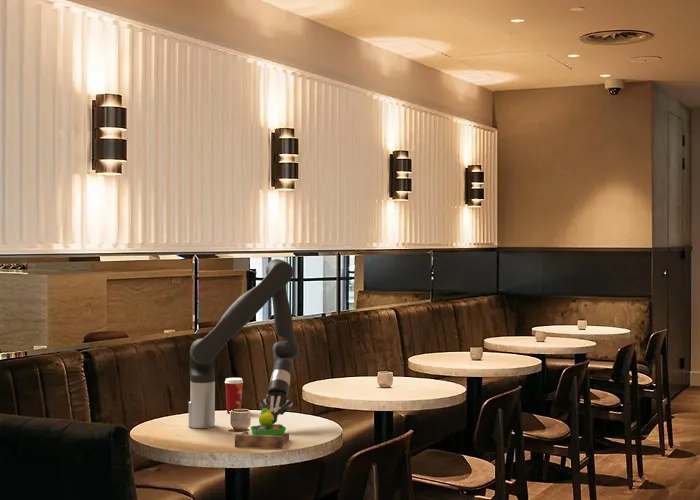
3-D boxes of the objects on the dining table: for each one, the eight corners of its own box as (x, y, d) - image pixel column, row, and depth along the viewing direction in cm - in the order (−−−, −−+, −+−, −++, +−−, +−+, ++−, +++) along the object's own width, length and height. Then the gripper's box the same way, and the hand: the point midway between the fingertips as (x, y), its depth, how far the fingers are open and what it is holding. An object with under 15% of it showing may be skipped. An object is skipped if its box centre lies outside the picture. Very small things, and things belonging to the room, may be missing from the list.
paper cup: (243, 414, 392) (243, 380, 392) (224, 414, 391) (224, 380, 391) (242, 410, 400) (242, 377, 400) (224, 411, 399) (224, 377, 398)
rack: (234, 446, 334) (234, 435, 334) (244, 438, 348) (244, 427, 348) (281, 448, 332) (281, 436, 332) (289, 440, 346) (289, 428, 345)
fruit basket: (255, 444, 338) (255, 412, 338) (249, 439, 346) (249, 408, 346) (286, 442, 342) (286, 410, 342) (279, 437, 350) (279, 406, 350)
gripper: (260, 378, 366) (253, 416, 355) (295, 379, 365) (288, 417, 353) (264, 389, 372) (256, 427, 360) (297, 390, 370) (291, 429, 358)
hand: (272, 422), depth 356 cm, fingers closed
